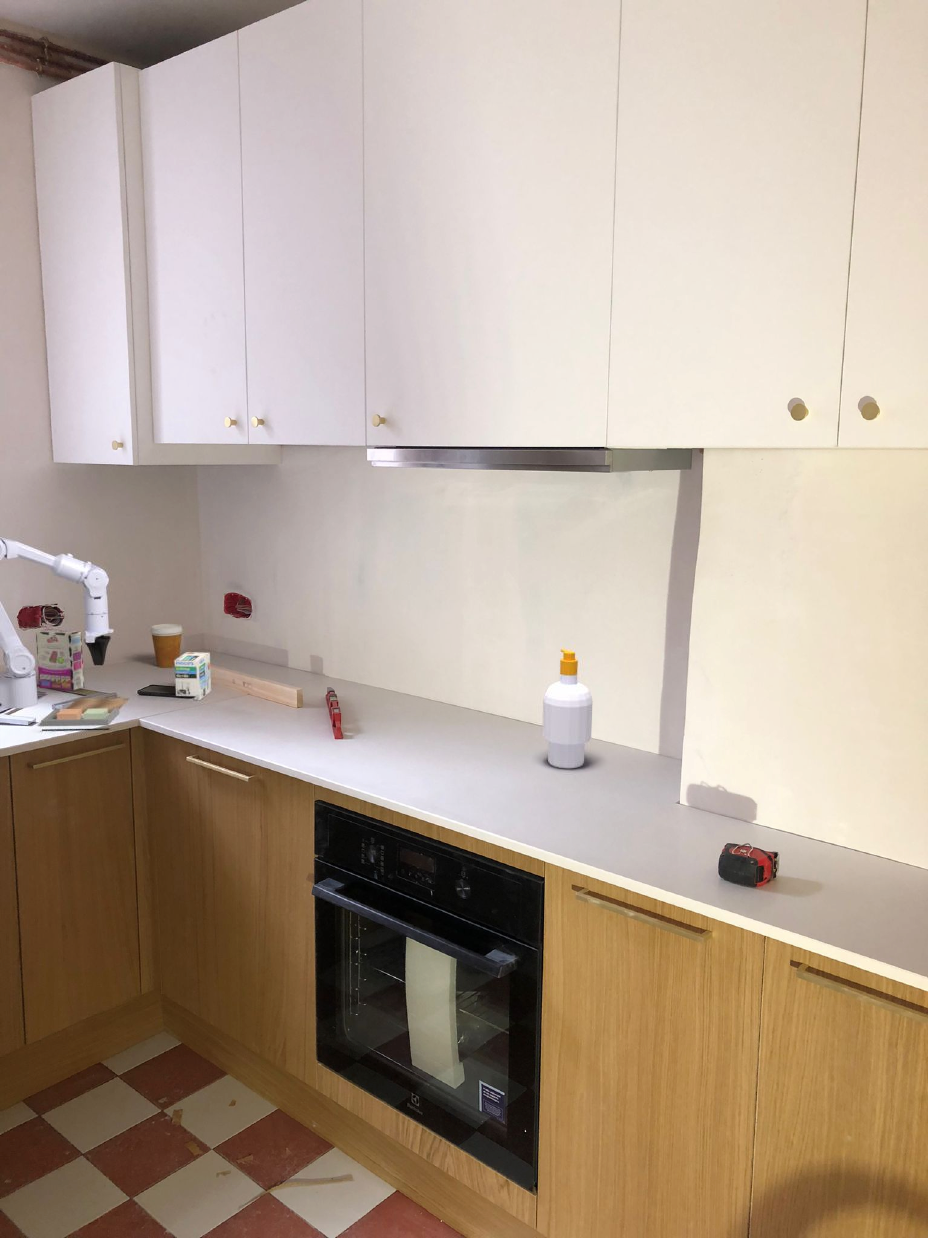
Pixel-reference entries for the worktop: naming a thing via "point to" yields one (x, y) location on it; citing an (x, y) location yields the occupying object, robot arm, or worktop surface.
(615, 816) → the worktop surface
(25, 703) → the robot arm
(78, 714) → the terracotta tile
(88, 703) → the walnut board
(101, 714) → the sage-green tile
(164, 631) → the disposable coffee cup
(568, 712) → the soap bottle
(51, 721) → the tray
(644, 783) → the worktop surface
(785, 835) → the worktop surface
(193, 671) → the light bulb box
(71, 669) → the candy bar box
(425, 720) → the worktop surface
